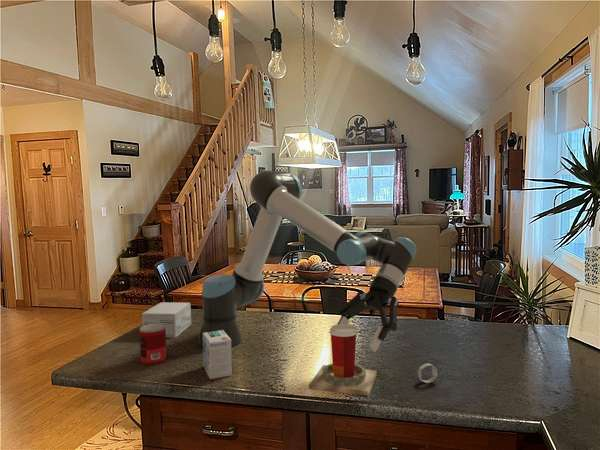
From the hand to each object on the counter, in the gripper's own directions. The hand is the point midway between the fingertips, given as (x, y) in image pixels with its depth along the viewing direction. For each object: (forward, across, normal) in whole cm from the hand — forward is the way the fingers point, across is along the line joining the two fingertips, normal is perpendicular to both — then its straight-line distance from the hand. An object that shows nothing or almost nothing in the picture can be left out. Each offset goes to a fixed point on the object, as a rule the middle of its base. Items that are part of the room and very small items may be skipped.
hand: (353, 343), depth 124 cm
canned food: (+33, +53, +18) cm, 65 cm away
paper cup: (+9, +1, -4) cm, 10 cm away
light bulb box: (+25, +32, +11) cm, 42 cm away
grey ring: (-2, -15, -17) cm, 23 cm away
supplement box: (+20, +81, +6) cm, 84 cm away
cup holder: (+10, 0, -5) cm, 11 cm away
